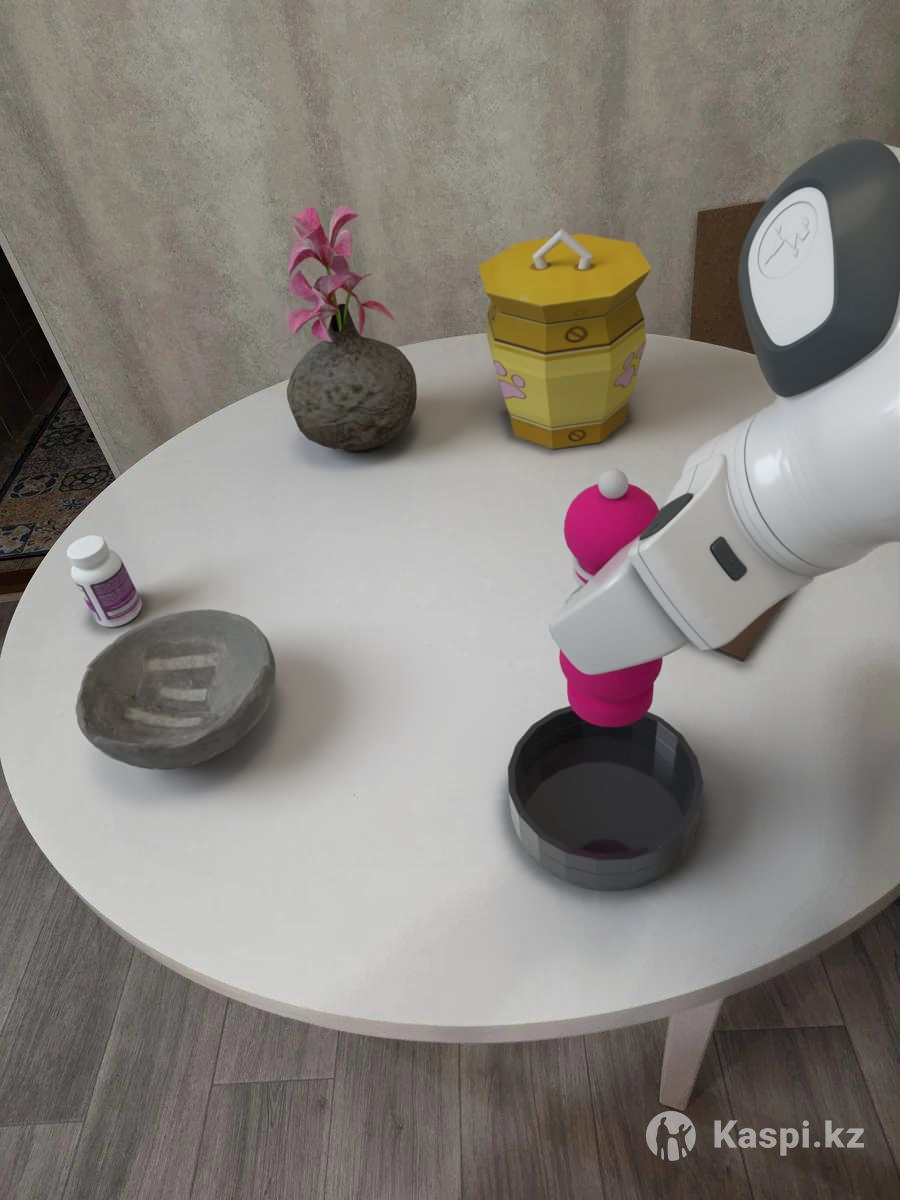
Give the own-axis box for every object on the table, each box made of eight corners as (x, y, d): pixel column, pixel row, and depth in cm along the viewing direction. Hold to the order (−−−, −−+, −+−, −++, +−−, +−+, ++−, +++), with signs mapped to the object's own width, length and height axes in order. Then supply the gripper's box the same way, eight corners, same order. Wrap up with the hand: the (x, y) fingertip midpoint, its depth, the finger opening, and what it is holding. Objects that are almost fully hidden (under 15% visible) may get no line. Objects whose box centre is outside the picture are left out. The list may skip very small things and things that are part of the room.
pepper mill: (648, 655, 67) (662, 432, 53) (669, 728, 61) (690, 500, 48) (555, 665, 67) (545, 445, 54) (567, 738, 62) (560, 515, 48)
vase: (285, 471, 115) (219, 244, 95) (328, 403, 127) (278, 189, 107) (405, 476, 111) (362, 240, 91) (438, 406, 123) (407, 184, 103)
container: (511, 374, 128) (498, 197, 111) (656, 382, 121) (666, 196, 104) (469, 453, 113) (447, 264, 96) (631, 467, 107) (638, 267, 90)
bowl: (298, 650, 90) (280, 593, 84) (279, 792, 77) (256, 736, 71) (130, 667, 91) (101, 612, 85) (83, 811, 78) (45, 757, 72)
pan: (728, 783, 72) (734, 750, 69) (641, 927, 64) (643, 897, 61) (572, 709, 80) (571, 676, 77) (476, 829, 72) (470, 798, 69)
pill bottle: (149, 595, 99) (118, 529, 93) (134, 627, 95) (100, 561, 89) (105, 597, 100) (71, 531, 93) (88, 629, 96) (51, 563, 90)
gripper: (813, 369, 50) (656, 463, 62) (626, 563, 40) (479, 631, 51) (875, 456, 51) (708, 532, 63) (707, 669, 40) (544, 712, 52)
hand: (603, 578), depth 57 cm, fingers closed on pepper mill, 5 cm apart
